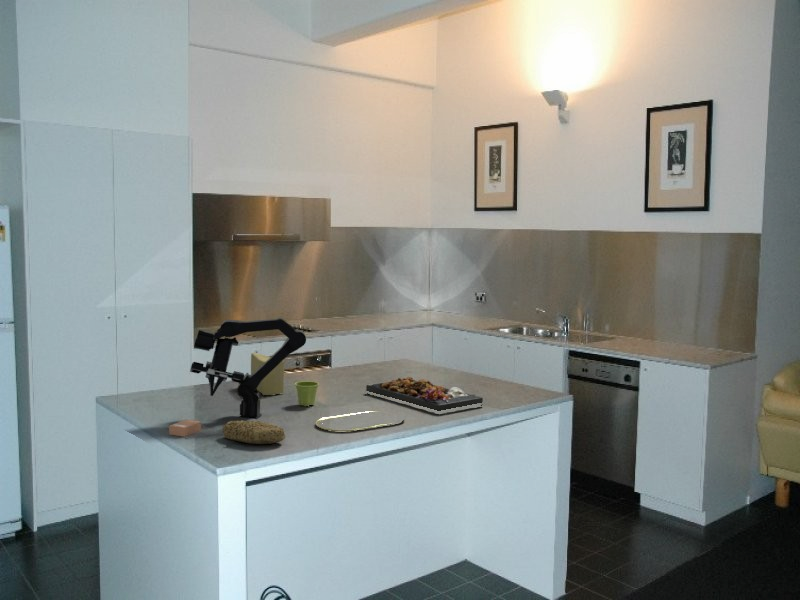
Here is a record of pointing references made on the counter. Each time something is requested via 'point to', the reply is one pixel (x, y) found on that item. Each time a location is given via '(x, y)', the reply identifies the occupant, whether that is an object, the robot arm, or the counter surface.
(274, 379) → the cheese
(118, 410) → the counter surface
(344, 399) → the counter surface
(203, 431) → the mat
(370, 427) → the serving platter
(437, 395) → the food platter
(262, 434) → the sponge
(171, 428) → the card box
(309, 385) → the plant pot
